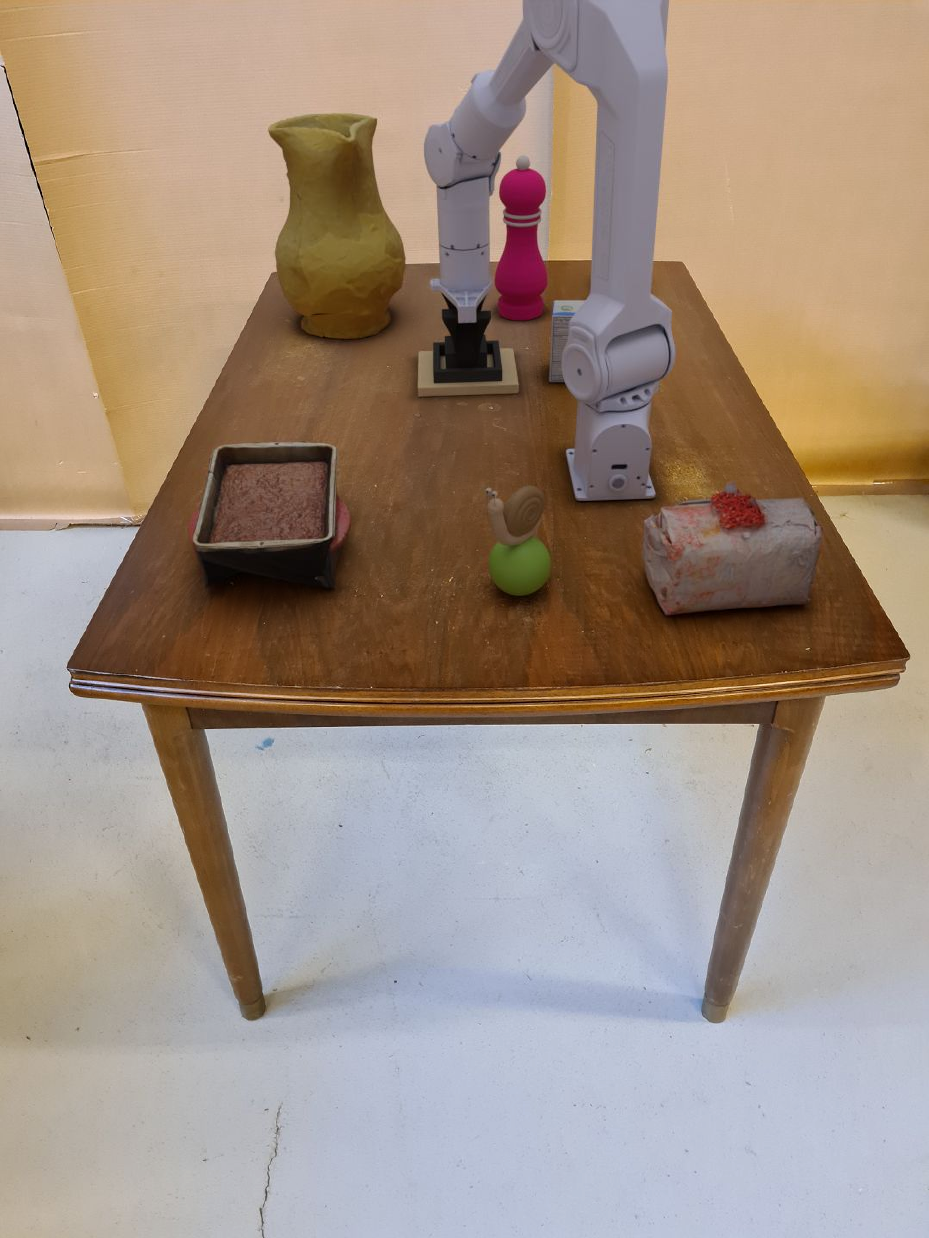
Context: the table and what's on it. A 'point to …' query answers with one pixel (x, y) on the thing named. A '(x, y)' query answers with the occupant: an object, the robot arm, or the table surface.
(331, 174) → the pitcher
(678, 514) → the food item
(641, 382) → the robot arm
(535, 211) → the pepper mill
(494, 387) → the base pad
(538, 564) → the snail figurine
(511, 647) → the table surface
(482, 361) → the black block
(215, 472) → the baking dish
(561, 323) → the medicine box
